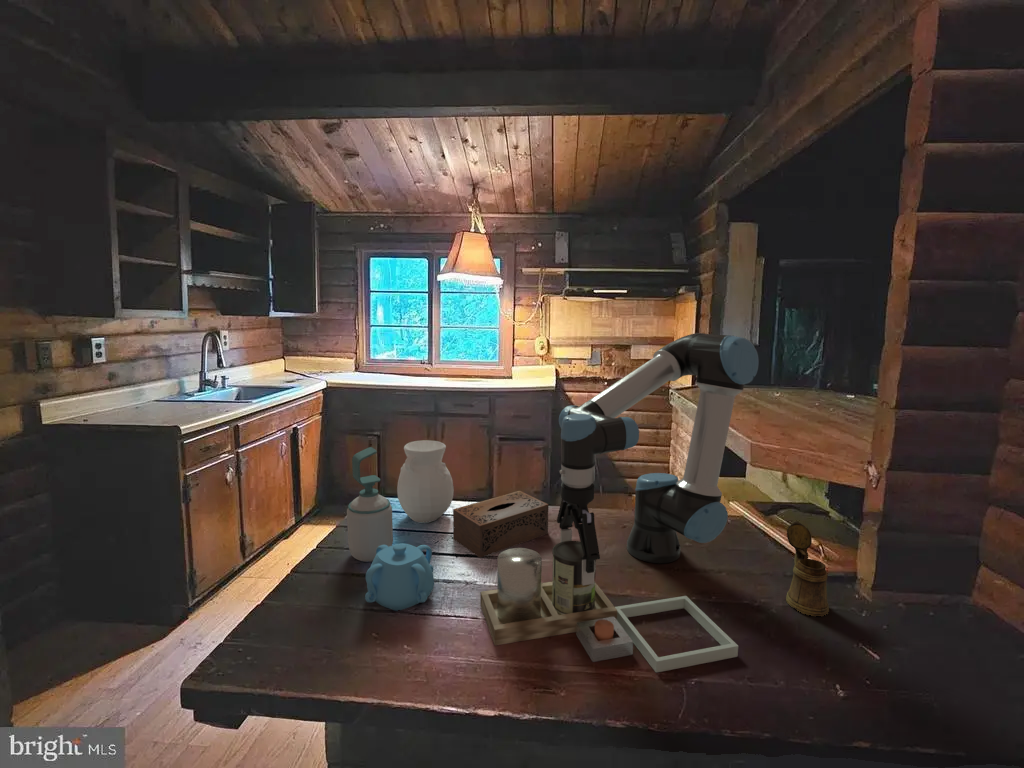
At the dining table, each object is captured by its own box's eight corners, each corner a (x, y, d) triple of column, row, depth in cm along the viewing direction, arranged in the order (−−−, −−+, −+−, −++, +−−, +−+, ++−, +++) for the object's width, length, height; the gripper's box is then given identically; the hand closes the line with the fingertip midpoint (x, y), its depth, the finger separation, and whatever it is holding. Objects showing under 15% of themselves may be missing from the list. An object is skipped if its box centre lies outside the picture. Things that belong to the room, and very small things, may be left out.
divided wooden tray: (590, 589, 134) (590, 576, 134) (616, 625, 120) (617, 610, 119) (480, 605, 127) (480, 591, 126) (494, 645, 113) (494, 629, 112)
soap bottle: (400, 557, 150) (396, 451, 144) (356, 569, 143) (351, 459, 138) (384, 540, 160) (380, 441, 155) (343, 551, 153) (338, 447, 148)
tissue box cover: (480, 558, 150) (479, 525, 148) (453, 540, 161) (453, 509, 160) (547, 534, 166) (548, 504, 164) (519, 518, 177) (519, 490, 175)
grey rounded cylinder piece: (533, 599, 128) (534, 545, 125) (546, 624, 118) (547, 566, 116) (492, 605, 125) (493, 550, 123) (503, 631, 116) (503, 572, 113)
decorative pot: (441, 581, 138) (440, 532, 135) (425, 618, 122) (424, 564, 120) (380, 578, 139) (378, 529, 137) (357, 614, 123) (355, 560, 121)
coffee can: (596, 596, 129) (597, 542, 127) (593, 621, 119) (595, 563, 117) (554, 591, 131) (555, 538, 129) (548, 615, 121) (549, 558, 119)
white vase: (428, 534, 164) (427, 457, 160) (386, 520, 174) (383, 447, 170) (465, 513, 180) (464, 442, 176) (424, 502, 190) (422, 434, 185)
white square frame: (685, 605, 128) (685, 595, 128) (737, 656, 110) (738, 645, 110) (613, 616, 123) (614, 607, 123) (655, 672, 105) (656, 661, 105)
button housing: (613, 628, 119) (613, 616, 118) (632, 654, 110) (633, 641, 110) (576, 634, 116) (576, 622, 116) (592, 662, 108) (593, 648, 107)
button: (608, 635, 116) (608, 618, 115) (616, 646, 112) (617, 629, 111) (591, 638, 115) (591, 621, 114) (598, 649, 111) (599, 632, 110)
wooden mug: (806, 586, 137) (813, 520, 134) (836, 617, 124) (845, 546, 121) (771, 585, 137) (778, 520, 134) (797, 616, 124) (805, 545, 121)
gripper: (544, 466, 131) (544, 545, 135) (583, 505, 107) (582, 600, 111) (572, 463, 133) (571, 542, 136) (617, 501, 109) (614, 595, 113)
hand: (576, 568), depth 124 cm, fingers open, 13 cm apart
